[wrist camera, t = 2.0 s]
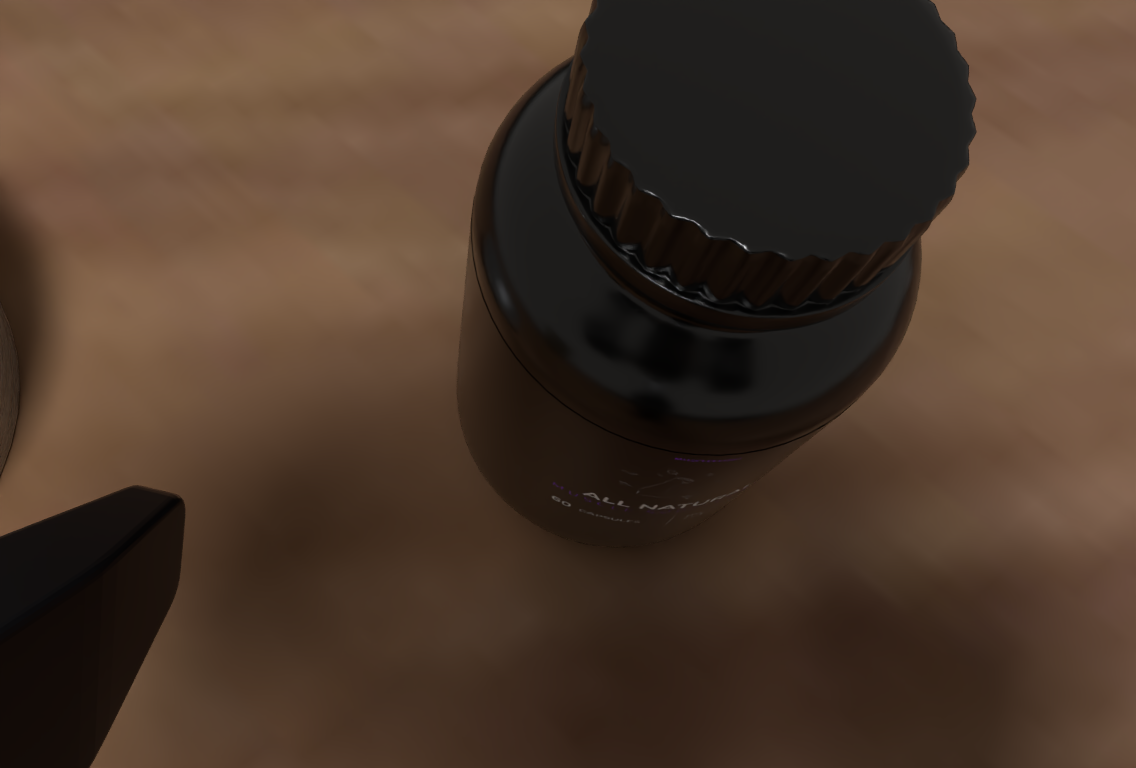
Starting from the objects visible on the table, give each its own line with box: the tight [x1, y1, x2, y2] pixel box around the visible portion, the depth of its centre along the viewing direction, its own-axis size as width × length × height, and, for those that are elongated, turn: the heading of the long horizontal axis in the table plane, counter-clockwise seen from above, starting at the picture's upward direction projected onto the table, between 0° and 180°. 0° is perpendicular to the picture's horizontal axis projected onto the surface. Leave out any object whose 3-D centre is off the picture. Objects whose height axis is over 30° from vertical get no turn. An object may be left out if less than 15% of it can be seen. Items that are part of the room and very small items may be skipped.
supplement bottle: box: [457, 0, 976, 547], centre depth 17 cm, size 7×7×12 cm
